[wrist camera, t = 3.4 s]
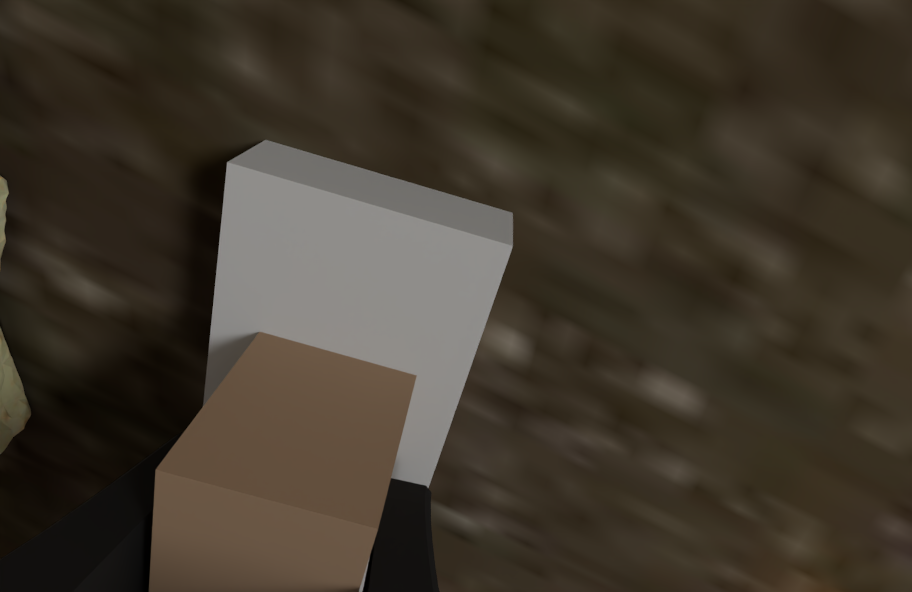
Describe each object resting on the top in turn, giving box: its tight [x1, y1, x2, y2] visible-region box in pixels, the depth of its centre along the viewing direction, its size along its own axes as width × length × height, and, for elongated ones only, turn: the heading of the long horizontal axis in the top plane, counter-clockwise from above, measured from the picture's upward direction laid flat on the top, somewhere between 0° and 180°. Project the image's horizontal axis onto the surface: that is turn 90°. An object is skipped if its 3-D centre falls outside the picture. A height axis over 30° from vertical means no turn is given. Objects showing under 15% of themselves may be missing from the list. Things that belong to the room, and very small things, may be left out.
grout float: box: [149, 140, 513, 592], centre depth 10 cm, size 10×4×4 cm, turn 164°
